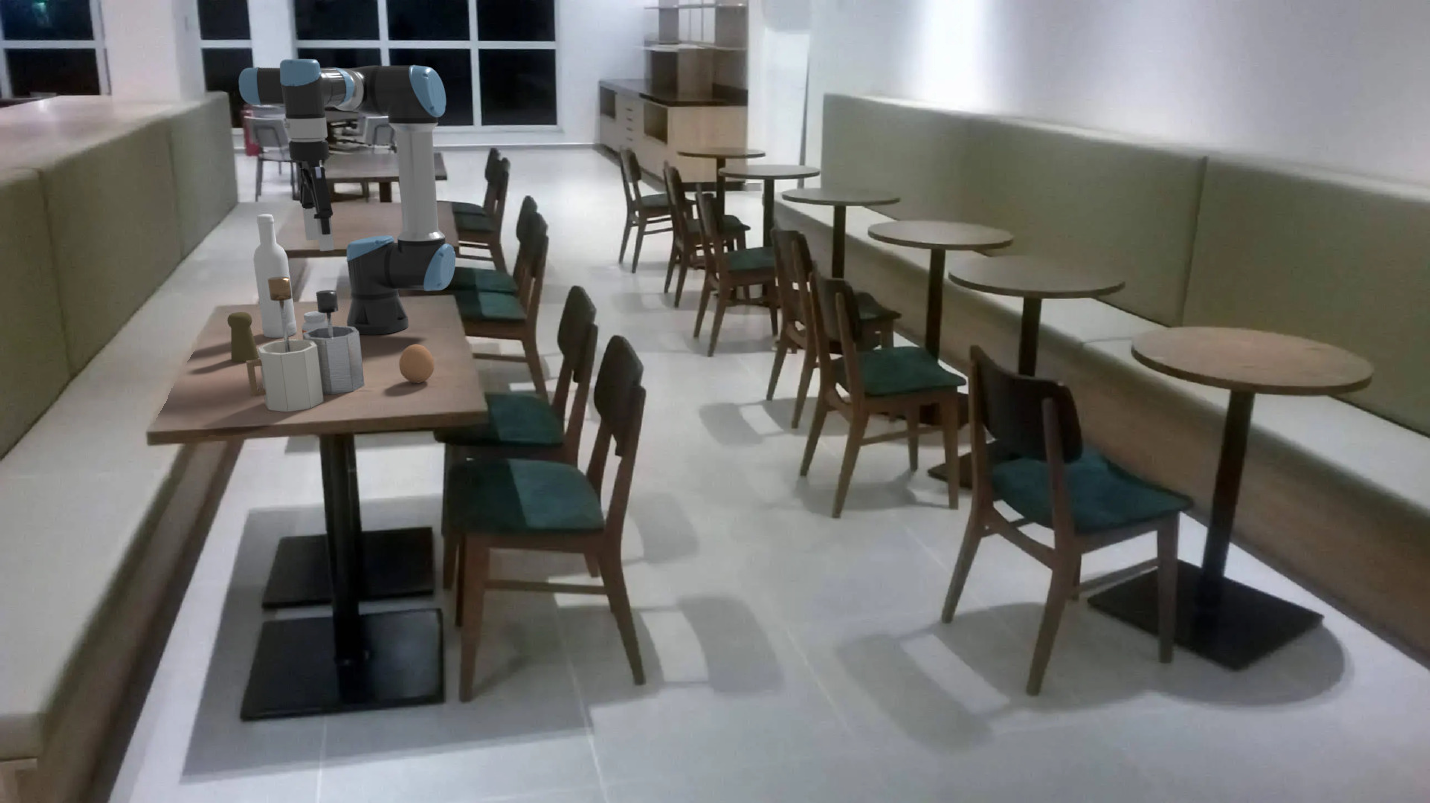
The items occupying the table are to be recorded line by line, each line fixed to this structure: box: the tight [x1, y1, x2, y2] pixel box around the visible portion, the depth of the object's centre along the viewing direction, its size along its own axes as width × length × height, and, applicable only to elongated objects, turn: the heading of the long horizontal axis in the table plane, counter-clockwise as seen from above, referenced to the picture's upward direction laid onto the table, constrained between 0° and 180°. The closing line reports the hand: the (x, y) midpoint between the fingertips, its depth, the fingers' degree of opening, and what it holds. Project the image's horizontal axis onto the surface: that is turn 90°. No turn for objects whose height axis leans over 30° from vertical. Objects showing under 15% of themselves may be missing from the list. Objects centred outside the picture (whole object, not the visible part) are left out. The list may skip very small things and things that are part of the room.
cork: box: [226, 311, 259, 363], centre depth 255 cm, size 6×6×11 cm
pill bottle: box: [301, 310, 328, 334], centre depth 255 cm, size 6×6×11 cm
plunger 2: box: [315, 289, 339, 338], centre depth 233 cm, size 7×7×18 cm
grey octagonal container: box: [302, 325, 365, 395], centre depth 235 cm, size 13×11×12 cm
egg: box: [398, 343, 435, 384], centre depth 238 cm, size 7×7×8 cm
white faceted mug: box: [245, 338, 324, 413], centre depth 224 cm, size 13×11×12 cm
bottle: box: [253, 213, 297, 339], centre depth 273 cm, size 8×8×30 cm
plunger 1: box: [268, 277, 293, 353], centre depth 221 cm, size 7×7×18 cm
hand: (320, 245), depth 227 cm, fingers open, 13 cm apart
